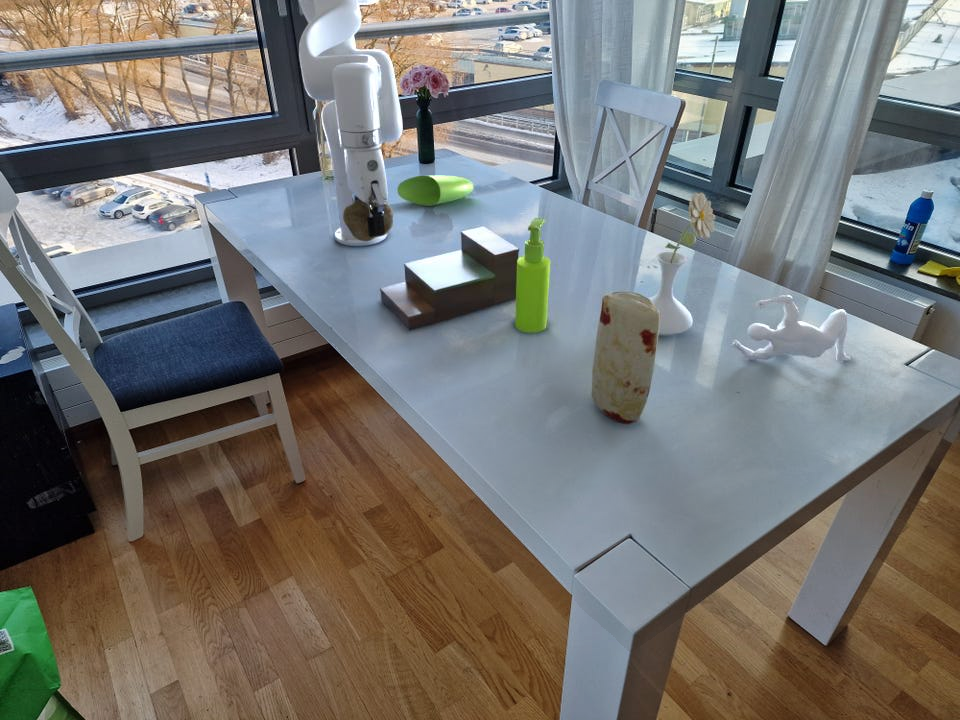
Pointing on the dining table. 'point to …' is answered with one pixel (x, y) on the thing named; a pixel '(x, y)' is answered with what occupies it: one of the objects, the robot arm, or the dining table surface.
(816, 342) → the person figurine
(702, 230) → the flower in vase
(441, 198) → the green rounded oblong
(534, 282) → the soap dispenser
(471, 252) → the step shelf
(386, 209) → the fossil
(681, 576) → the dining table surface
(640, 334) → the food model
